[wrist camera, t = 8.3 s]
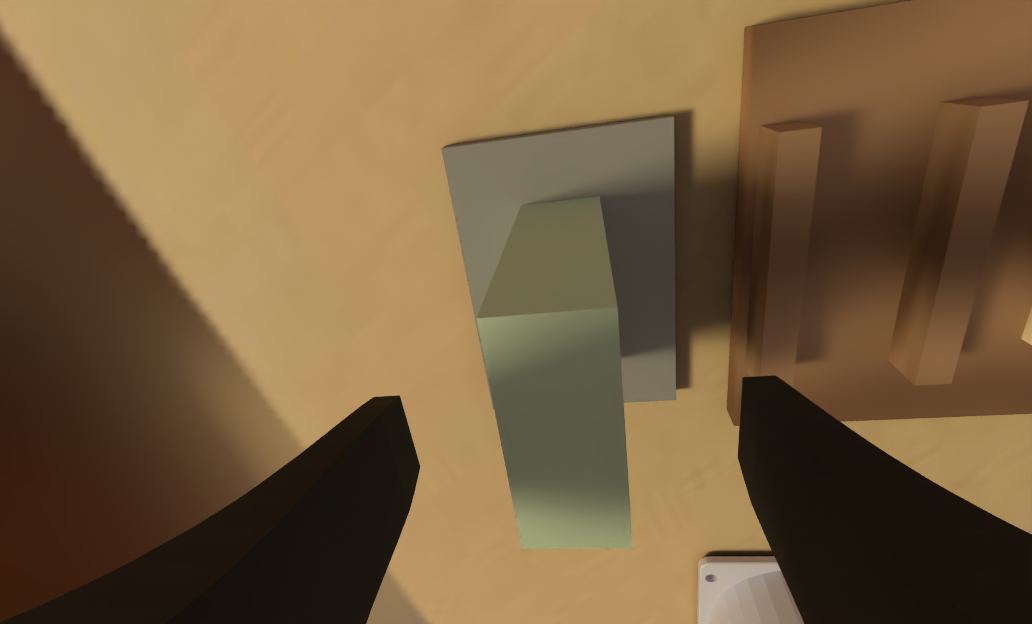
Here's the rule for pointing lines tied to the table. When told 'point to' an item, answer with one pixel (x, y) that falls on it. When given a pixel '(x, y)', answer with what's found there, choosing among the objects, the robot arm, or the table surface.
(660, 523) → the table surface
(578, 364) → the sage green box
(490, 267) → the mat
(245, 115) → the table surface
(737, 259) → the rack
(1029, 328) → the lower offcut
